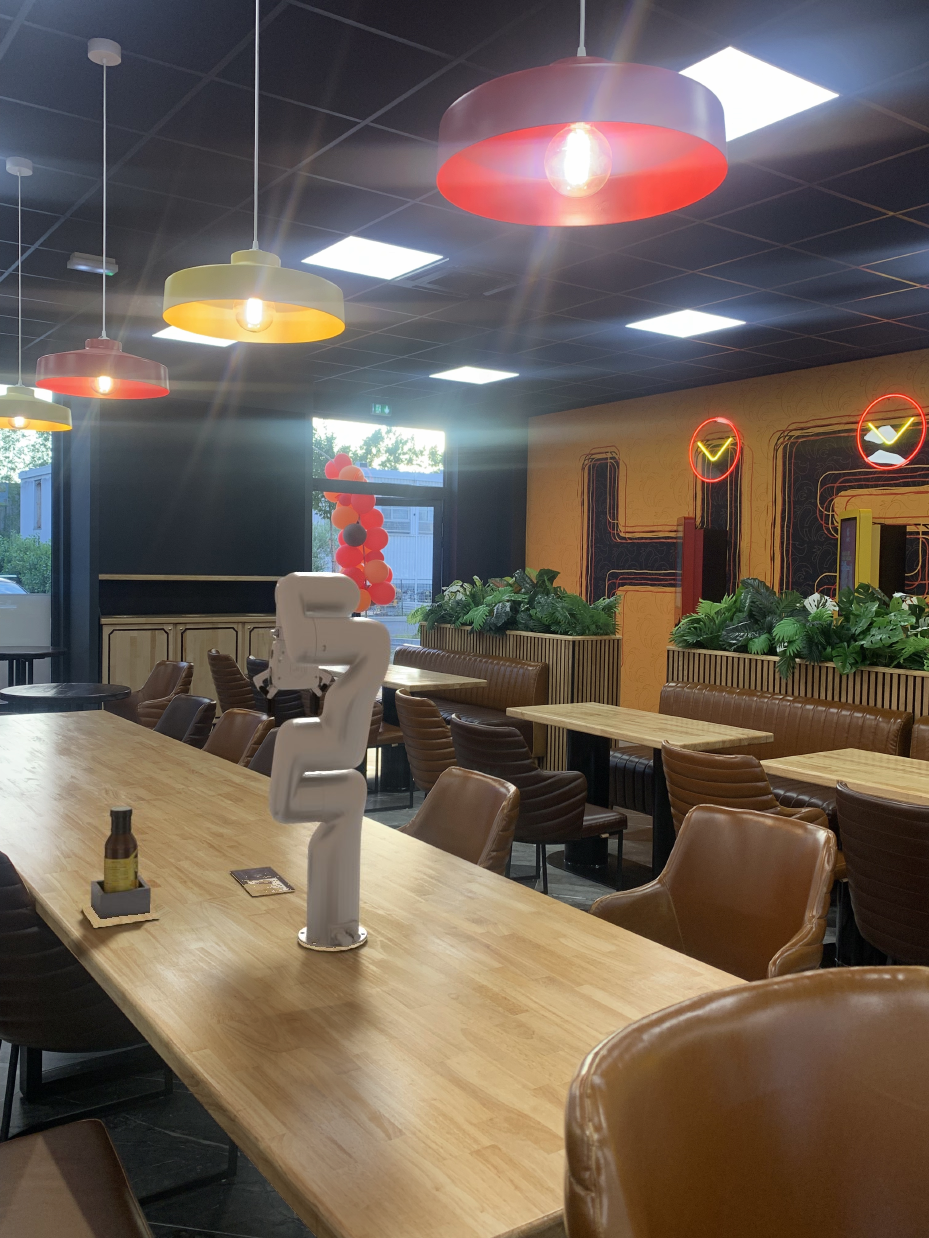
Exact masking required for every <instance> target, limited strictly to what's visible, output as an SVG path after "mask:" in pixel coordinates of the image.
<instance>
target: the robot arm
mask: <svg viewBox="0 0 929 1238" xmlns="http://www.w3.org/2000/svg"><path fill="white" fill-rule="evenodd" d="M361 597H362V596H361V590H360V588H359V586H358V584H357V583H356V581H355V580H354V579H352V578H351V577H349V576H348V575H345V574H343V573H339V572H303V571H302V572H300V571H299V572H297V571H296V572H291V573H289V574H287V575H284V577H281V578H279V579H278V580H277V583H276V586H275V589H274V600H275V601H274V602H275V608H276V611H275V613H276V614H275V627H274V629H271V630H269V637H273V638H274V639H275V641H273V642H272V645H271V648H270V655H269V661H268V668H267V669H265V670H264V671H262V672H260V673H259V674H257V675H255V676H253V678H252V680H253V683H254V685H255V687H256V690H258V692H260V694H261V695H262V696H263V697H264V699H265V700H264V713H266V717H269V718H274V717H275V716H276V699H275V698H274V696H275V694H276V693H278V691H280V690H282V691H284V690H309V691H310V692H311V695H309V714H311V715H314V717H313V716H312V717H297V718H291V719H288V720H286V721H284V722H283V723H282V724H281V725H280V726H279V728H278V731H277V732H276V737H275V743H274V748H273V749H274V750H273V757H272V765H271V772H270V773H271V774H270V781H269V790H268V808H269V812H270V815H271V818H272V819H273V820H274V821H275V822H276V823H279V824H283V825H294V824H295V825H296V824H308V823H310V824H311V823H319V824H318V826H317V827H316V828H315V830H314V832H313V833H312V835H311V837H310V839H309V843H308V845H307V876H306V877H307V879H306V880H307V881H306V882H307V883H306V884H307V885H306V926H305V927H303V928H301V929H300V930H299V932H298V933H297V940H298V939H299V940H300V941H301V942H303V943H305V944H307V945H310V946H315V947H326V948H333V947H334V948H336V947H349V946H351V945H355V944H357V943H361V942H363V941H364V940H365V939H366V938H367V939H368V931H367V930H366V929H365V928H364V927H363V926H361V925H360V899H361V898H360V896H361V893H360V891H361V847H362V846H361V845H362V828H363V819H364V813H365V809H366V803H367V797H368V785H367V782H366V781H367V780H366V779H365V777H364V775H363V774H362V773H361V772H360V771H358V770H356V769H355V768H357V767H358V766H360V765H361V764H362V763H363V761H364V758H365V755H366V750H367V746H368V740H369V735H370V734H369V733H370V728H371V724H372V723H371V722H372V717H373V716H372V715H373V711H374V710H373V709H374V705H375V701H376V699H377V696H378V694H379V691H380V689H381V687H382V685H383V683H384V681H385V678H386V675H387V672H388V670H389V665H390V660H391V653H392V651H391V650H392V641H391V635H390V631H389V630H388V628H387V626H386V625H385V624H383V623H382V622H381V621H379V620H376V619H372V618H367V617H361V616H360V617H359V616H358V617H357V616H355V617H354V616H352V614H354V613H355V611H356V610H357V609H358V607H359V605H360V603H361ZM341 666H342V667H347V666H348V668H347V670H345V671H344V673H342V674H341V675H340V676H339V677H338V678H337V679H336V680H335V681H334V682H333V683H332V685H331V686H329V684H330V682H331V680H332V677H333V676H332V675H331V674H330V673H328V672H326V671H324V670H323V669H320V668H319V667H341ZM320 677H321V678H322V680H321V682H320ZM264 680H267V681H268V686H267V688H266V686H265V685H264V684H263V681H264ZM319 683H320V684H319ZM328 687H329V688H328ZM327 688H328V690H327ZM326 690H327V692H326V694H325V697H324V700H323V701H324V702H323V710H322V713H321V715H319V711H320V709H321V708H320V707H321V706H320V705H321V698H320V697H322V695H323V693H324V692H325V691H326ZM318 715H319V716H318ZM315 716H316V717H315ZM313 943H316V944H313Z"/></svg>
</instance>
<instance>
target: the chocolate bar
mask: <svg viewBox="0 0 929 1238" xmlns="http://www.w3.org/2000/svg"><path fill="white" fill-rule="evenodd" d="M230 872H231V873H232V874H233V875H234V876H235V877H236V878H237V879H238V880H239V881H240V882H241V883H242V884H243V885H245V884H248V883H250V884H258V883H259V884H273V885H276V886H278V887H276V886H272V885H271V887H273V888H279V887H280V888H281V889H283V890H284V891H287V890H290V889H291V890H295V891H296V889H295V888H294V887H293V886H292V885H291V884H290V883H289V882H288V881H287V880H285V879H284V877H282V876H281V875H280V874H279V873H278V872H276V870H275V869H273V868H272V867H271V866H263V867H262V866H261V867H253V868H245V869H244V868H243V869H236V870H230V871H229V873H230ZM265 873H266V874H265ZM246 876H247V877H246ZM257 876H259V877H257ZM264 876H265V877H267V876H271V877H267V878H265V877H264ZM277 876H279V877H277ZM263 877H264V878H263ZM275 877H276V878H275ZM242 880H243V881H242ZM244 880H249V881H252V882H253V883H252V882H249V881H248V882H247V881H244ZM253 880H259V881H263V880H270V882H269V881H266V882H268V883H264V882H259V881H253ZM273 880H275V881H273ZM276 880H278V881H276ZM271 881H272V882H271ZM279 881H280V882H279ZM255 882H256V883H255ZM275 882H276V883H275ZM277 884H280V885H282V886H280V885H277ZM288 884H289V885H288ZM261 886H262V885H261ZM254 887H255V886H254ZM271 887H270V888H271ZM267 888H269V887H267ZM286 888H289V889H286ZM277 890H278V889H277ZM279 891H282V890H279ZM266 892H267V891H266ZM272 892H275V891H274V890H273V891H272ZM276 892H277V891H276Z"/></svg>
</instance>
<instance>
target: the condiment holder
mask: <svg viewBox="0 0 929 1238" xmlns="http://www.w3.org/2000/svg"><path fill="white" fill-rule="evenodd" d="M151 893H152V892H151V887H150V886H149V885H148V883H147V882H146V881H145V880H144V879H143V877H142V876H141V875H140V874H138V889H130V890H123V891H115V892H108V893H104V879H99V880H91V881H90V904H91V907H92V908H93V910H94V911H95V913H96V914H97V915H98V917H99V918H100V919H107V918H112V917H119V916H128V915H138V914H145V913H150V904H151Z"/></svg>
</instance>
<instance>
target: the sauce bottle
mask: <svg viewBox="0 0 929 1238" xmlns="http://www.w3.org/2000/svg"><path fill="white" fill-rule="evenodd" d="M109 810H110V811H109V817H110V820H111V821H110V822H111V823H110V826H111V827H110V834H109V835H108V838H107V839H106V840H105V842H104V843H105V844H104V856H103V880H104V893H108V892H115V891H123V890H130V889H138V875H139V845H138V840H137V838H136V837H135V835H134V834H133V832H132V828H133V827H132V816H133V808H132V806H127V805H125V806H124V805H123V806H114V807H111V808H110V809H109Z"/></svg>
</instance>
